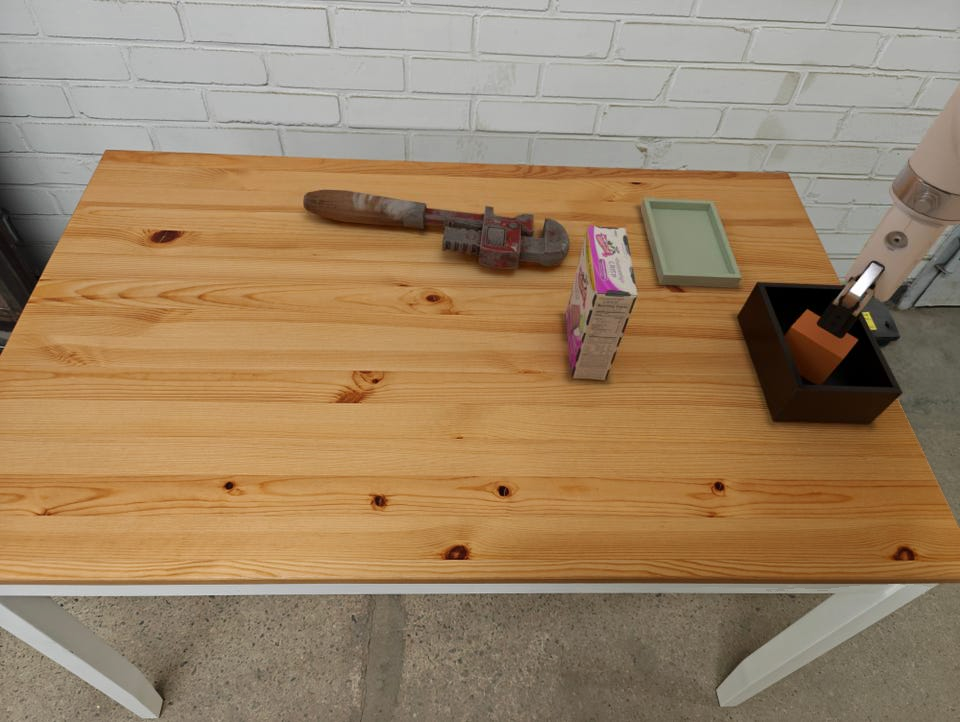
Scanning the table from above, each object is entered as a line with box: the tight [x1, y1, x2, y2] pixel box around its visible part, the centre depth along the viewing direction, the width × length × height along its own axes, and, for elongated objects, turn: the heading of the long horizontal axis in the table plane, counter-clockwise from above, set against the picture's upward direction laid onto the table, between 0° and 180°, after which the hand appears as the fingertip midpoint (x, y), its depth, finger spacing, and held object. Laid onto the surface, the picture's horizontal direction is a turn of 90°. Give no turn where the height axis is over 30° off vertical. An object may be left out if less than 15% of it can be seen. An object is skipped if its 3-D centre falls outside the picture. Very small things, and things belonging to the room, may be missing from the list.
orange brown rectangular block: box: [784, 309, 858, 385], centre depth 81 cm, size 7×4×6 cm, turn 45°
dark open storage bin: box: [736, 281, 903, 425], centre depth 81 cm, size 18×13×7 cm
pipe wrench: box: [302, 189, 571, 270], centre depth 93 cm, size 40×12×5 cm, turn 85°
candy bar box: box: [565, 225, 639, 381], centre depth 77 cm, size 11×5×16 cm, turn 179°
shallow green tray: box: [639, 197, 743, 289], centre depth 97 cm, size 18×12×2 cm, turn 0°
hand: (847, 309), depth 74 cm, fingers open, 9 cm apart
